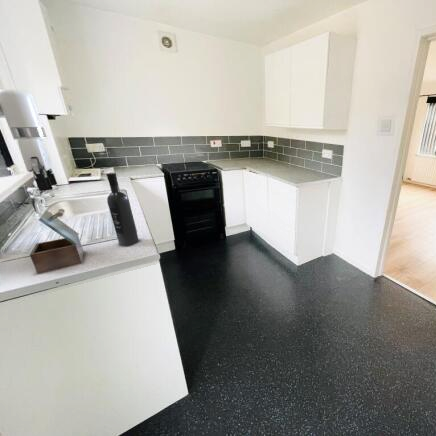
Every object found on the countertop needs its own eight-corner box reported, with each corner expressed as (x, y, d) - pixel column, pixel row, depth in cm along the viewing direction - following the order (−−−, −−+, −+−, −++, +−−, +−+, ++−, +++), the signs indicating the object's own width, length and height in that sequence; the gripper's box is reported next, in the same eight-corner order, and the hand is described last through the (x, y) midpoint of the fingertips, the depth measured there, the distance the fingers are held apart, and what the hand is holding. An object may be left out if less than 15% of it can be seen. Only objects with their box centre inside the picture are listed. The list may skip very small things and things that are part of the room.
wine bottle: (128, 248, 100) (109, 175, 90) (118, 246, 102) (98, 174, 92) (140, 242, 105) (123, 172, 95) (130, 240, 107) (112, 172, 97)
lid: (38, 219, 78) (53, 209, 80) (44, 211, 86) (58, 202, 88) (74, 244, 85) (87, 235, 87) (76, 235, 93) (89, 226, 95)
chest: (38, 275, 82) (29, 254, 79) (44, 262, 90) (36, 243, 87) (82, 264, 88) (75, 245, 86) (84, 253, 96) (78, 235, 94)
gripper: (19, 134, 81) (39, 185, 87) (3, 134, 68) (27, 194, 74) (50, 133, 85) (66, 182, 91) (40, 133, 72) (60, 190, 78)
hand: (49, 187), depth 82 cm, fingers open, 9 cm apart
